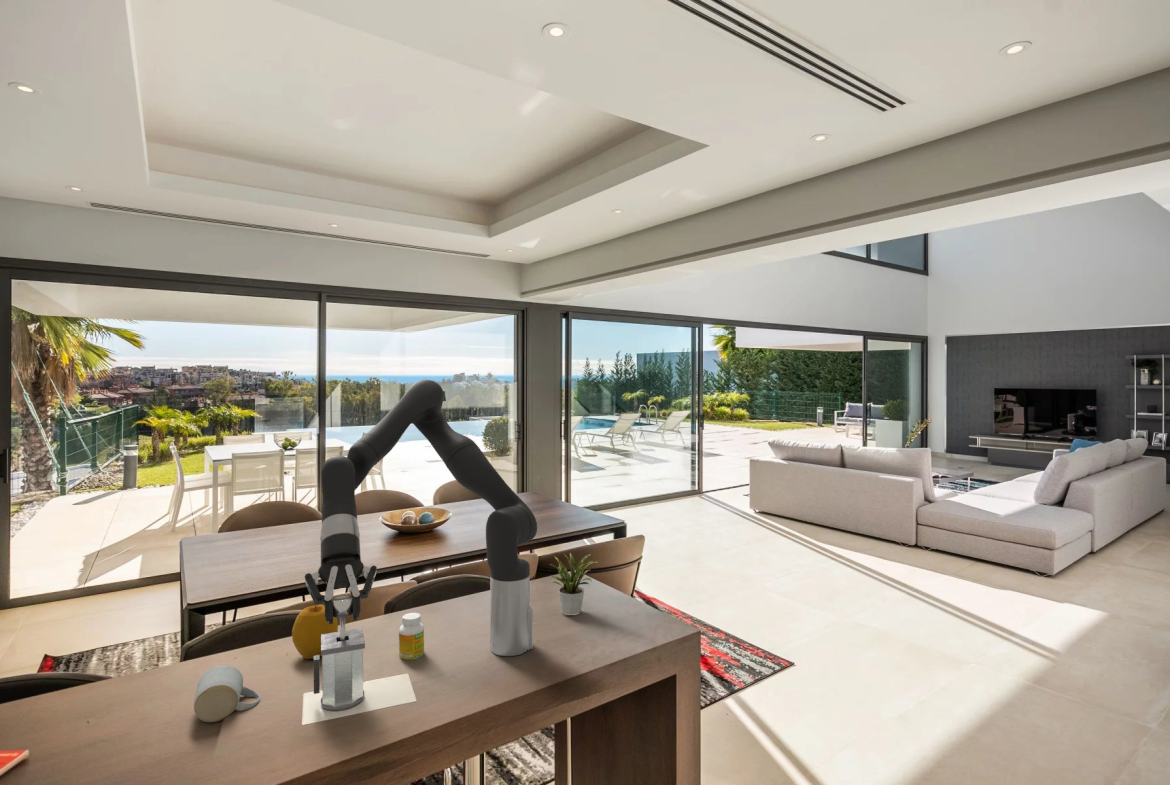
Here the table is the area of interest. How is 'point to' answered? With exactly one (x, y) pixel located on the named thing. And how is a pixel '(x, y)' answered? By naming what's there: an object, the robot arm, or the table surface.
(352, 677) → the press
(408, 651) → the supplement bottle
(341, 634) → the plunger
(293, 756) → the table surface
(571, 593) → the house plant
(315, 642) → the apple
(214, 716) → the ceramic mug
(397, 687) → the plate
